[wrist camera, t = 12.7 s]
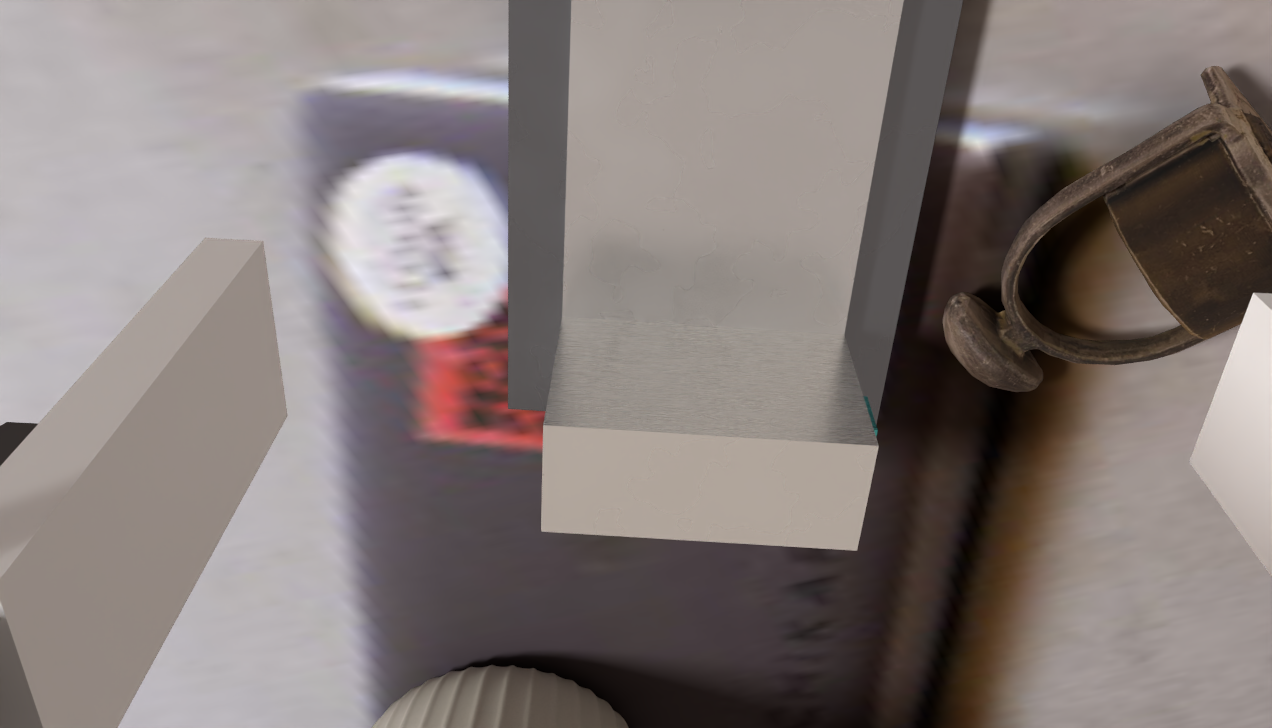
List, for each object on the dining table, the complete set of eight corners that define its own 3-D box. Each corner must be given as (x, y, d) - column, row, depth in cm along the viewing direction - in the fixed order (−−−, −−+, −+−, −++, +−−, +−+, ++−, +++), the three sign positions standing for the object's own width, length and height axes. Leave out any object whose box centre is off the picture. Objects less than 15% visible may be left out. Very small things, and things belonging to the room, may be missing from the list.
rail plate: (514, -525, 28) (458, -627, 20) (1049, -486, 28) (1197, -573, 20) (511, 392, 42) (477, 540, 34) (869, 414, 42) (916, 566, 34)
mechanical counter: (1424, 375, 34) (1430, 96, 28) (1024, 514, 36) (956, 281, 30) (1292, 259, 40) (1275, 10, 34) (954, 385, 42) (887, 170, 36)
